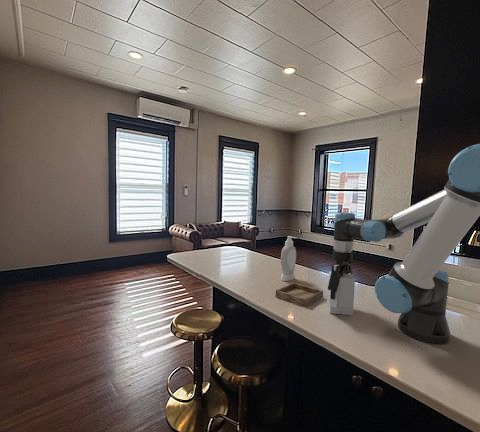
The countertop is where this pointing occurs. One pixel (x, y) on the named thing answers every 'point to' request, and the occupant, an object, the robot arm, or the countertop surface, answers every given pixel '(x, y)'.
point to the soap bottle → (288, 260)
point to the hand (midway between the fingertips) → (339, 302)
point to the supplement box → (343, 295)
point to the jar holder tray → (299, 294)
